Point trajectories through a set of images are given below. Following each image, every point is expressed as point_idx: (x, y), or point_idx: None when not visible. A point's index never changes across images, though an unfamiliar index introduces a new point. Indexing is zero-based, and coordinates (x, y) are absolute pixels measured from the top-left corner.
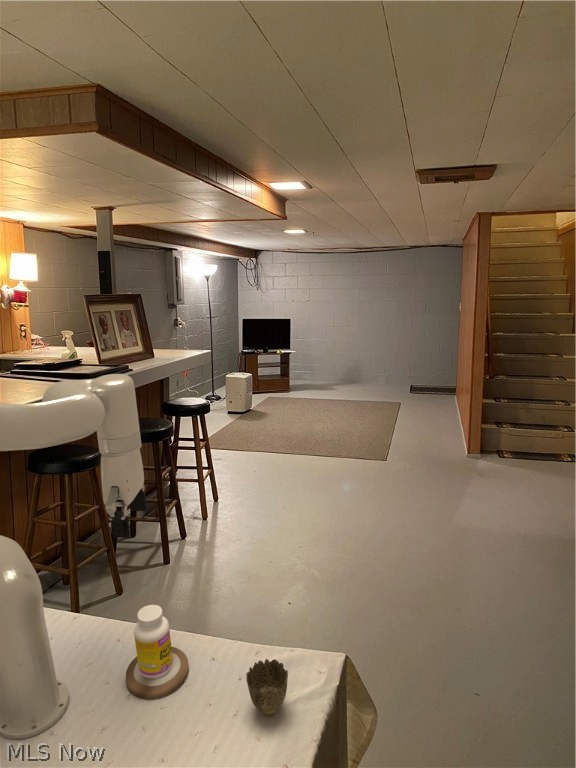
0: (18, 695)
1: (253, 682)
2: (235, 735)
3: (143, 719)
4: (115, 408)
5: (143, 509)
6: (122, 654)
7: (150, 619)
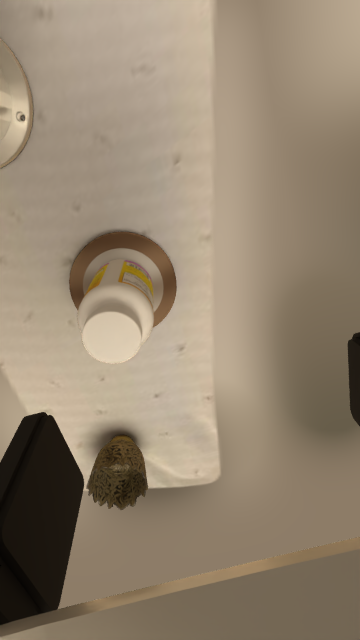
0: None
1: (124, 449)
2: (72, 423)
3: (41, 307)
4: None
5: (355, 414)
6: (145, 192)
7: (92, 351)
